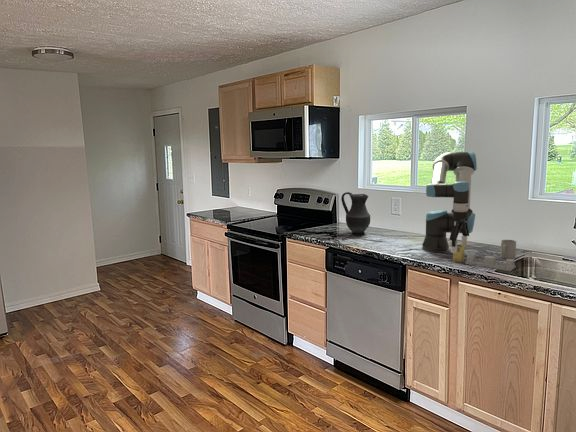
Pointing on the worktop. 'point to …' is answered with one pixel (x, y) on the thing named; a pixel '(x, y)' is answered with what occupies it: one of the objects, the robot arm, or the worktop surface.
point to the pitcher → (357, 214)
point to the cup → (508, 249)
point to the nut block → (459, 253)
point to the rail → (490, 262)
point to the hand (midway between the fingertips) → (459, 250)
